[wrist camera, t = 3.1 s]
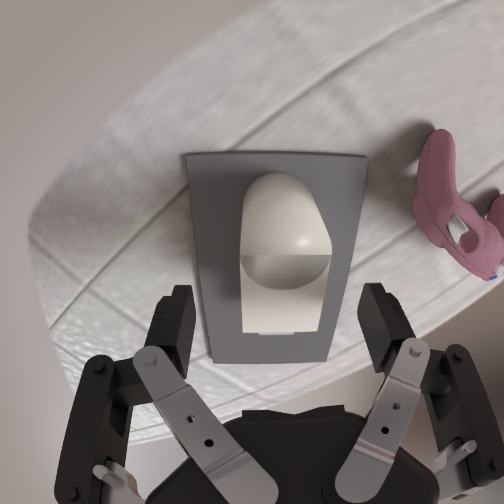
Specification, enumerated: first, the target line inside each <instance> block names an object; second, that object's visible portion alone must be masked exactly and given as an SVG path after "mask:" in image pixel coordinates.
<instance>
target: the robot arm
mask: <svg viewBox="0 0 504 504" xmlns="http://www.w3.org/2000/svg"><path fill="white" fill-rule="evenodd" d="M357 315H358V320H359V323H360V326H361V329H362V332H363V335H364V338H365V341H366V344H367V347H368V350H369V353H370V356H371V359H372V363H373V366H374V369H375V372H376V373H379V372H384V374H385V378H384V379H383V382H382V384H381V386H380V388H379V390H378V392H377V394H376V396H375V398H374V400H373V402H372V404H371V406H370V407H369V409H368V411H367V413H366V414H365V416H364V417H362V416H360V415H358V414H355V413H352V412H348V411H345V409H344V405H336V406H325V407H318V408H315V409H312V410H309V411H306V412H303V413H299V414H287V413H282V412H276V411H270V410H242V417H238V418H235V419H232V420H230V421H228V422H225V423H224V424H221V423H220V422H219V420H218V419H217V418H216V417H215V415H214V414H213V413H212V412H211V410H210V409H209V408H208V407H207V405H206V404H205V403H204V401H203V400H202V399H201V398H200V396H199V395H198V394H197V392H196V391H195V390H194V388H193V387H192V386H191V385H190V384H189V385H188V384H187V383H186V382H185V381H184V379H186V378H187V371H188V365H189V359H190V353H191V346H192V340H193V334H194V329H195V323H196V309H195V303H194V297H193V291H192V286H191V285H175V286H174V289H173V292H172V296H163V298H162V299H161V300H160V301H159V302H158V303H157V306H156V309H155V312H154V315H153V318H152V321H151V325H150V328H149V331H148V335H147V338H146V341H145V345H144V347H143V348H141V349H139V350H138V351H137V352H136V353H135V355H134V357H132V358H129V359H125V360H119V361H114V362H113V360H112V359H111V358H110V357H109V356H107V355H96V356H93V357H92V358H90V359H89V360H88V361H87V362H86V364H85V366H84V369H83V372H82V375H81V379H80V382H79V385H78V389H77V392H76V395H75V399H74V403H73V406H72V410H71V413H70V417H69V421H68V425H67V429H66V433H65V438H64V441H63V446H62V450H61V455H60V460H59V465H58V470H57V475H56V481H55V486H54V495H55V498H56V500H57V502H58V503H59V504H438V502H441V501H444V500H447V499H450V498H452V499H454V500H458V499H462V498H464V497H466V496H468V495H470V494H472V493H474V492H476V491H478V490H480V489H482V488H483V487H486V486H487V485H489V484H491V483H493V482H494V481H496V480H498V479H500V478H501V477H503V476H504V443H503V440H502V437H501V433H500V430H499V427H498V424H497V421H496V418H495V415H494V413H493V410H492V407H491V404H490V401H489V399H488V396H487V394H486V391H485V389H484V386H483V383H482V381H481V379H480V376H479V374H478V372H477V369H476V367H475V365H474V362H473V360H472V358H471V356H470V353H469V352H468V351H467V349H466V348H464V347H463V346H461V345H458V344H453V345H450V346H448V348H447V349H446V351H439V350H432V349H429V347H428V345H427V344H426V343H425V342H424V341H422V340H421V339H418V338H416V336H415V334H414V332H413V330H412V328H411V326H410V324H409V321H408V319H407V317H406V316H405V313H404V311H403V309H402V307H401V305H400V303H399V301H398V299H397V298H395V297H394V296H393V295H392V294H391V293H386V291H385V289H384V287H383V285H382V284H381V283H365V285H364V287H363V291H362V294H361V298H360V301H359V305H358V310H357ZM420 393H423V395H424V398H425V401H426V405H427V409H428V412H429V416H430V419H431V423H432V427H433V431H434V435H435V439H436V443H437V448H438V452H439V453H438V454H437V456H436V457H435V460H434V467H433V472H432V471H431V470H429V469H428V468H427V467H426V466H424V465H423V464H422V463H420V462H419V461H418V460H417V459H415V458H414V457H413V456H412V455H410V454H409V453H408V452H407V451H405V450H404V449H403V448H402V447H400V446H399V445H400V443H401V441H402V439H403V436H404V434H405V432H406V430H407V427H408V425H409V422H410V420H411V417H412V415H413V412H414V410H415V407H416V404H417V402H418V399H419V396H420ZM151 402H153V403H154V405H155V407H156V408H157V410H158V412H159V413H160V415H161V416H162V418H163V420H164V421H165V423H166V424H167V426H168V427H169V429H170V430H171V432H172V433H173V435H174V437H175V438H176V440H177V441H178V443H179V444H180V446H181V447H182V448H183V450H184V451H185V453H186V454H187V456H188V458H187V459H186V460H185V461H184V462H183V463H182V464H181V465H180V466H179V467H178V468H177V469H176V470H175V471H174V472H173V473H171V474H170V475H169V476H168V477H167V478H166V479H165V480H164V481H163V482H162V483H161V484H160V485H159V486H158V487H156V488H155V489H154V490H153V491H152V492H151V493H150V495H149V496H148V498H147V499H146V500H144V499H142V498H141V496H140V495H139V493H138V490H137V483H136V480H135V478H134V476H133V475H132V474H131V473H129V472H128V471H126V470H125V460H126V453H127V452H126V451H127V445H128V438H129V431H130V424H131V418H132V412H133V406H135V405H141V404H146V403H151Z"/></svg>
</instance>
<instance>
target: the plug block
mask: <svg viewBox="0 0 504 504" xmlns="http://www.w3.org/2000/svg"><path fill="white" fill-rule="evenodd" d="M331 255H332V244H331V240H330V237H329V235H328V232H327V230H326V227H325V225H324V222H323V220H322V217H321V215H320V212H319V210H318V208H317V205H316V203H315V201H314V198H313V196H312V193H311V191H310V189H309V187H308V186H307V185H306V183H305V182H304V181H303V180H301V179H300V178H299V177H297V176H295V175H293V174H290V173H286V172H272V173H268V174H265V175H263V176H261V177H259V178H257V179H256V180H255V181H254V182H253V183H252V184H251V185H250V186H249V187H248V189H247V191H246V193H245V195H244V199H243V211H242V226H241V241H240V278H241V304H242V328H243V333H259V335H289V334H294V332H312V331H317V330H318V325H319V320H320V315H321V310H322V305H323V300H324V295H325V289H326V284H327V278H328V273H329V267H330V261H331Z"/></svg>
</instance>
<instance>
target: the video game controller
mask: <svg viewBox="0 0 504 504" xmlns="http://www.w3.org/2000/svg"><path fill="white" fill-rule="evenodd" d="M455 154H456V153H455V143H454V140H453V137H452V135H451V133H449V132H448V131H447V130H445V129H438V130H436V131H434V132H432V133H431V135H430V136H429V137H428V139H427V140H426V142H425V144H424V147H423V149H422V152H421V155H420V159H419V164H418V171H417V185H416V196H415V197H414V199H413V203H412V205H413V212H414V215H415V218H416V220H417V222H418V226H419V229H420V230H421V232H422V233H423V234H424V235H426V236H427V238H428V239H429V240H430V241H431V242H432V243H433V244H434V245H436V246H438V247H440V248H445V249H446V250H447V251H448V252H449V254H450V255H451V256H452V257H453V258H454V259H455V260H456V261H457V262H458V263H459V264H461V265H462V266H463V267H464V268H466V269H467V270H468V271H469V272H471V273H473V274H474V275H476V276H478V277H481V278H482V279H483V280H485V281H489V280H493V279H495V278H497V277H498V276H499V275H501V274H502V273H503V271H504V194H501V195H498V197H496V199H495V200H494V201H493V203H492V205H491V207H490V210H489V213H488V215H487V219H485V218H483V217H481V216H479V214H478V212H477V210H476V209H475V208H474V206H473V205H471V204H470V203H466V202H465V201H464V200H463V199H462V198H461V197H460V196H459V194H458V192H457V190H456V180H455ZM497 275H498V276H497Z"/></svg>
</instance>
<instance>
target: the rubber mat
mask: <svg viewBox="0 0 504 504" xmlns="http://www.w3.org/2000/svg"><path fill="white" fill-rule="evenodd" d="M368 160H369V159H368V158H367V157H366V156H357V155H344V154H327V153H304V152H214V153H191V154H187V156H186V161H187V172H188V182H189V193H190V202H191V212H192V220H193V229H194V238H195V246H196V254H197V261H198V269H199V276H200V283H201V290H202V297H203V304H204V310H205V317H206V323H207V330H208V336H209V342H210V348H211V353H212V359H213V363H218V364H283V363H309V362H326V360H327V356H328V353H329V349H330V346H331V342H332V338H333V335H334V331H335V327H336V324H337V320H338V316H339V312H340V308H341V304H342V300H343V296H344V292H345V287H346V283H347V279H348V274H349V270H350V265H351V260H352V255H353V251H354V246H355V240H356V235H357V230H358V224H359V219H360V213H361V207H362V201H363V195H364V188H365V182H366V175H367V168H368ZM272 172H286V173H290V174H293V175H295V176H297V177H299V178H300V179H301V180H303V181H304V182H305V183H306V185H307V186H308V187H309V189H310V191H311V193H312V196H313V198H314V201H315V203H316V205H317V208H318V210H319V212H320V215H321V217H322V220H323V222H324V225H325V227H326V230H327V232H328V235H329V237H330V240H331V244H332V255H331V261H330V267H329V273H328V278H327V284H326V289H325V295H324V300H323V305H322V310H321V315H320V320H319V325H318V330H317V331H312V332H294V334H289V335H259V333H243V328H242V304H241V278H240V241H241V226H242V211H243V199H244V195H245V193H246V191H247V189H248V187H249V186H250V185H251V184H252V183H253V182H254V181H255V180H256V179H257V178H259V177H261V176H263V175H265V174H268V173H272Z"/></svg>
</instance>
